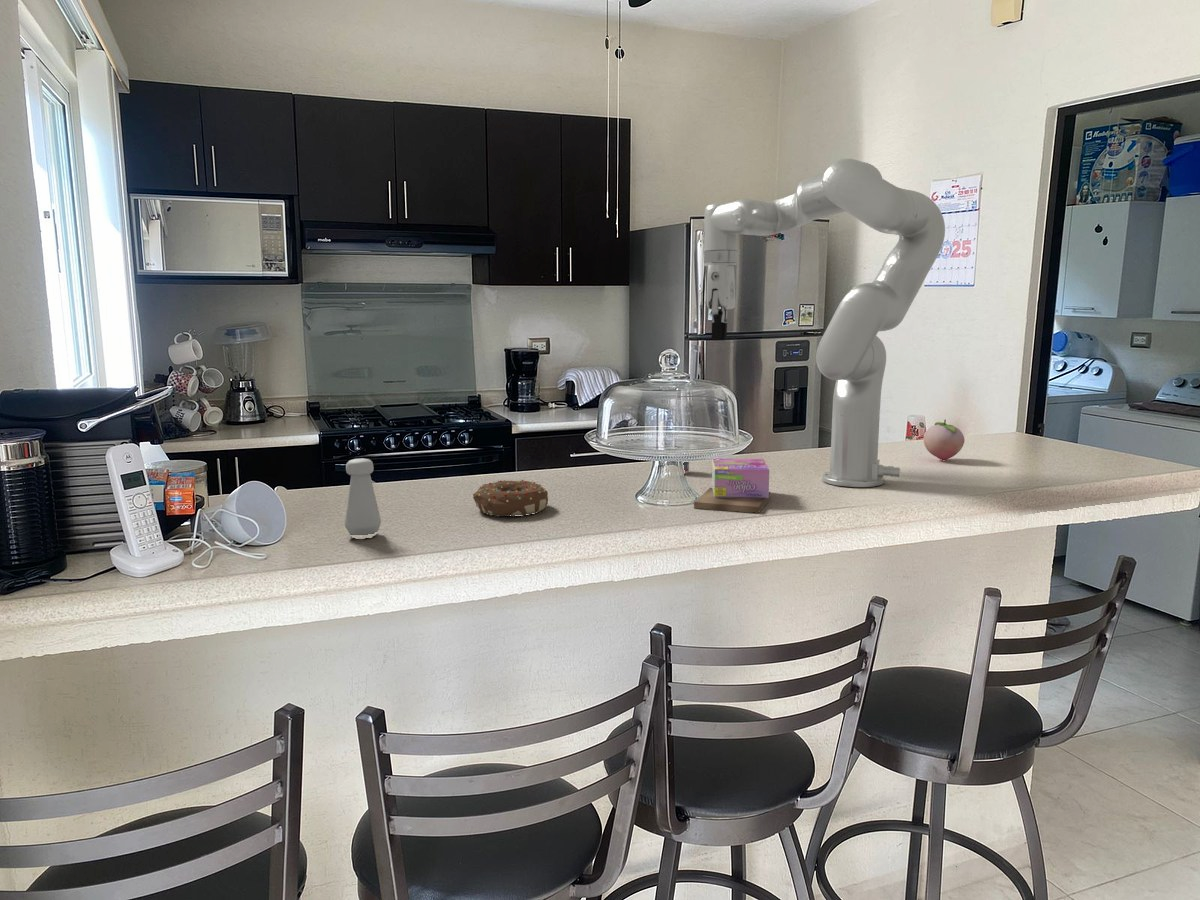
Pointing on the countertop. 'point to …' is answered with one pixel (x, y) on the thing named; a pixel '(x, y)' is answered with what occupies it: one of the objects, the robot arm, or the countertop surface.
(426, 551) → the countertop surface
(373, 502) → the salt shaker
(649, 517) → the countertop surface
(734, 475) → the box
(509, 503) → the donut
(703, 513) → the countertop surface
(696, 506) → the board
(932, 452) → the decorative fruit
